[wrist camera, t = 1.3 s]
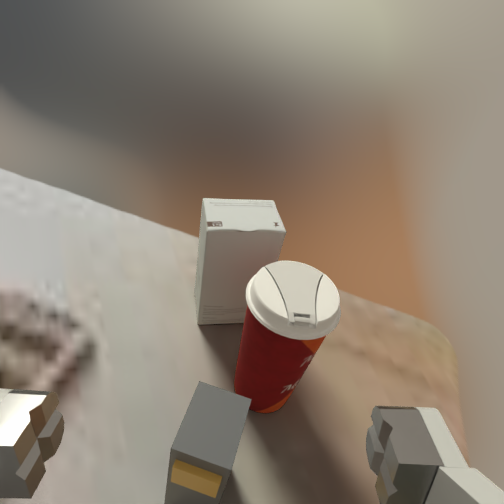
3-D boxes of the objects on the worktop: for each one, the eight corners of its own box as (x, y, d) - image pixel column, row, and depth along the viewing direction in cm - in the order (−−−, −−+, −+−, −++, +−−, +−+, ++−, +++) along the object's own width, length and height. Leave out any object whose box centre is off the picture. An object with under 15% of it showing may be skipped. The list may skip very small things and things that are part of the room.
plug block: (161, 515, 30) (167, 456, 23) (187, 447, 35) (199, 381, 28) (208, 533, 30) (228, 478, 23) (229, 462, 34) (251, 399, 27)
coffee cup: (303, 427, 38) (356, 333, 29) (221, 422, 37) (249, 322, 28) (294, 356, 45) (335, 260, 35) (224, 350, 43) (247, 249, 34)
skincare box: (252, 291, 52) (277, 198, 42) (261, 326, 47) (291, 230, 38) (190, 291, 49) (202, 193, 40) (193, 327, 45) (207, 227, 36)
